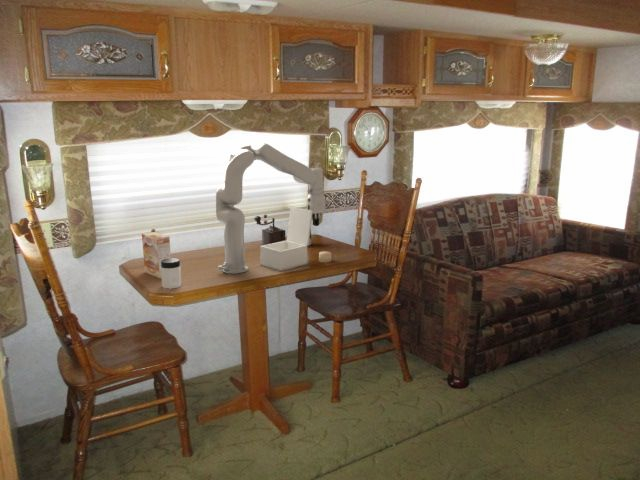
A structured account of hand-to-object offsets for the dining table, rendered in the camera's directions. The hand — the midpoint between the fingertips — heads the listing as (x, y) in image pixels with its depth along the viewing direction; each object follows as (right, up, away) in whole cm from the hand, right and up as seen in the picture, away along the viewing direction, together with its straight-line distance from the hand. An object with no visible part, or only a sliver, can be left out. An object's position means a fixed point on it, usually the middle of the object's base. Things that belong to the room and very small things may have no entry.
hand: (315, 225), depth 289 cm
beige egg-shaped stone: (+5, -19, -5) cm, 20 cm away
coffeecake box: (-77, -25, -27) cm, 85 cm away
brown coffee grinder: (-27, -11, +28) cm, 41 cm away
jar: (-65, -29, -46) cm, 84 cm away
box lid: (-9, -1, -9) cm, 13 cm away
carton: (-16, -21, -12) cm, 29 cm away
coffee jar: (-8, -11, +30) cm, 32 cm away
